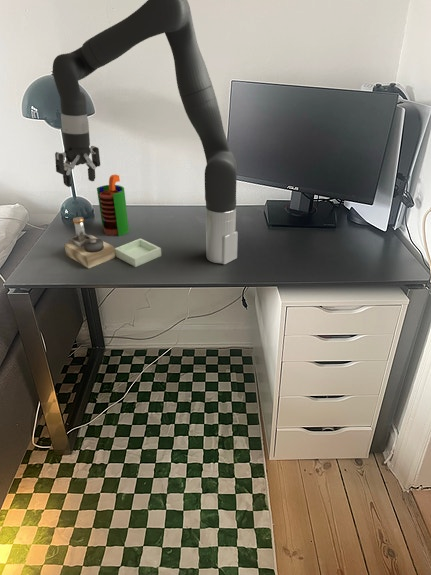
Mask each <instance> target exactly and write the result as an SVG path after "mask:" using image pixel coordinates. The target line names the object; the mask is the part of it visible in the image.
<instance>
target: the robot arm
mask: <svg viewBox="0 0 431 575" xmlns="http://www.w3.org/2000/svg"><path fill="white" fill-rule="evenodd" d="M162 34H165V36H166V40H167V41H168V44H169V46H170V47H169V48H170V50H171V53H172V57H173V62H174V70H175V80H176V85H177V90H178V93H179V97H180V99H181V103H182V105H183V106H182V107H183V108H184V112H185V113H186V116H187V118H188V120H189V121H190V124H191V125H192V127H193V128H194V130H195V132H196V133H197V135H198V137H199V140H200V141H201V145H202V149H203V153H204V157H205V161H206V165H205V169H204V201H205V234H206V236H205V241H206V243H205V244H206V246H205V247H206V248H205V250H206V253H205V254H206V255H205V256H206V259H207V260H208V261H209V262H211V263H215V264H222V265H227V264H228V263H230V262H232V261H234V260H237V259H238V238H239V236H238V233H239V232H238V231H237V230H236V221H237V220H236V219H237V218H236V217H237V176H238V162H237V159H236V157H235V155H234V153H233V150H232V149H231V146H230V143H229V142H228V141H229V140H228V139H227V136H226V133H225V129H224V126H223V119H222V115H221V112H220V107H219V104H218V99H217V96H216V93H215V89H214V86H213V83H212V80H211V77H210V74H209V71H208V68H207V65H206V63H205V60H204V58H203V56H202V52H201V50H200V47H199V44H198V40H197V35H196V31H195V27H194V23H193V17H192V12H191V6H190V3H189V1H188V0H146V2H144V3H143V4H142V5H141V6H139V8H137V9H136V10H135V11H133V13H131V14H130V15H128V16H127V17H126V18H125V17H124V19H122V20H121V21H119V22H117V23H115V24H113V25H112V26H109V27H108V28H106V29H104V30H103V31H101V32H99V33H97V34H96V35H93V36H92V37H90V38H89V39H87V40H85V42H84V43H83V44H82V46H80V47H79V48H77V49H76V50H73V51H71V52H69V53H61V54H58V55H56V57H55V58H54V59H53V63H52V76H53V80H54V83H55V86H56V90H57V93H58V95H59V98H60V101H59V102H60V113H61V118H60V119H61V121H60V122H61V131H62V141H63V146H64V152H58V151H56V152H55V153H54V156H55V157H54V158H55V159H54V160H55V172H56V173H58V174H61V175H62V178H63V180H62V181H63V185H65V187H68V188H71V187H72V178H71V172H72V170H74V168H75V166H76V167H77V166H80V165H86V166H87V167H88V168H87V176H88V178H87V179H88V181H90V182H95V180H96V168H97V167H100V166H101V159H100V158H101V157H100V150H99V149H100V148H99V147H97V146H95V145H91V140H90V125H89V119H88V114H87V113H88V110H87V99H86V95H85V93H84V92H82V91H81V89H80V88H81V87H80V85H79V81H81V80H83V79H85V78H86V77H88V76H89V75H91V74H93V73H94V72H96V70H98V69H100V68H101V67H105V66H106V65H108V64H109V63H111V62H113V61H115V60H117V59H118V58H120V57H121V56H123V55H124V54H126V53H127V52H128V51H129V50H131V49H133V48H134V47H136V45H139V43H141V42H144V41H145V40H148V39H150V38H153V37H156V36H159V35H162ZM90 155H91V158H90Z"/></svg>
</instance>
